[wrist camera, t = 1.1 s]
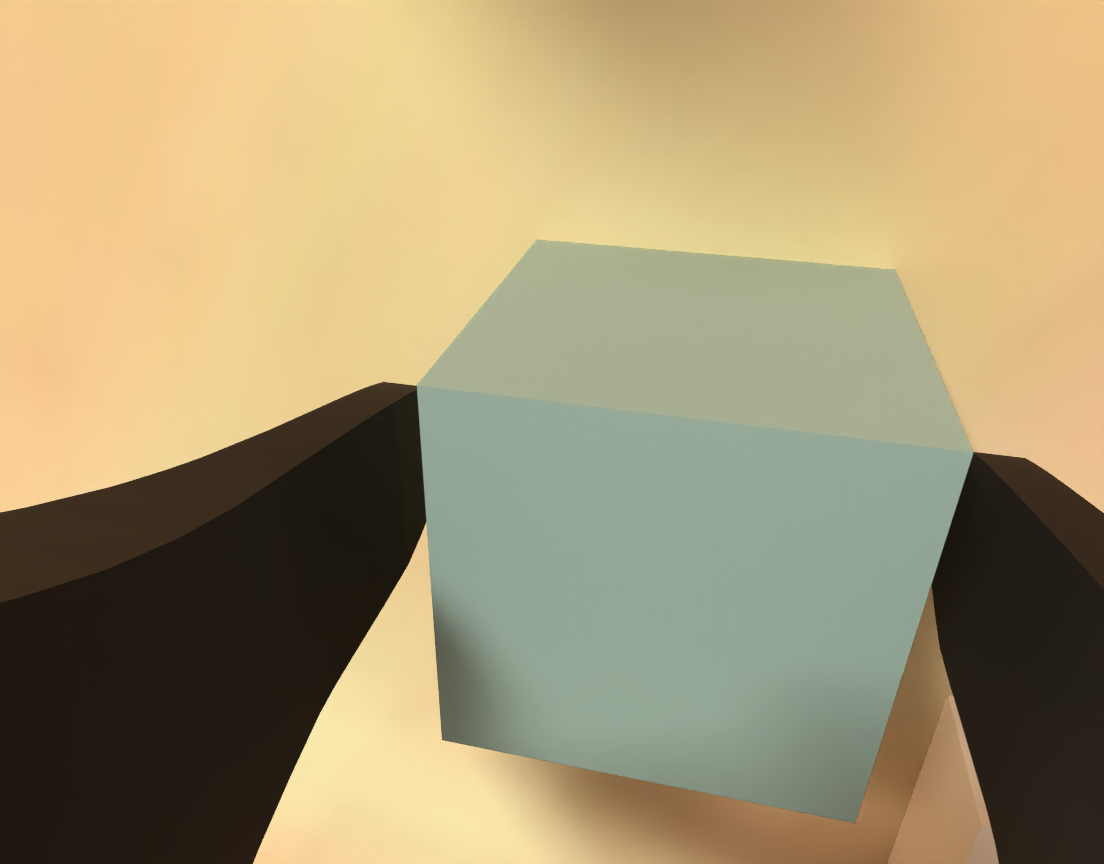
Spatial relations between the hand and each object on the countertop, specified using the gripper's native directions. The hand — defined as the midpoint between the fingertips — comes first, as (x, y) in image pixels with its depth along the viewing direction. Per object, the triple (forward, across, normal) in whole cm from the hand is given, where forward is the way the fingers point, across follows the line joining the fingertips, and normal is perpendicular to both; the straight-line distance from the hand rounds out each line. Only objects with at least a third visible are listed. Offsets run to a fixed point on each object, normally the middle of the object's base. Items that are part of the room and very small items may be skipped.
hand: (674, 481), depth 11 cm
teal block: (+2, 0, 0) cm, 2 cm away
